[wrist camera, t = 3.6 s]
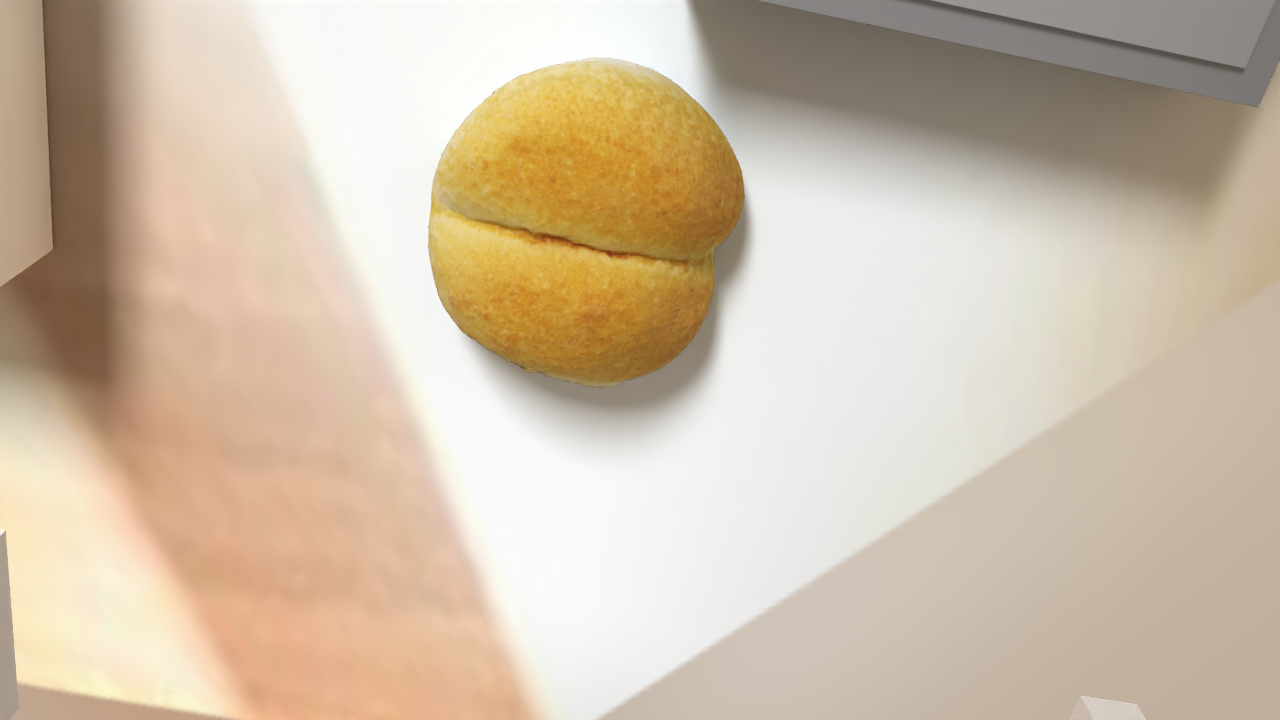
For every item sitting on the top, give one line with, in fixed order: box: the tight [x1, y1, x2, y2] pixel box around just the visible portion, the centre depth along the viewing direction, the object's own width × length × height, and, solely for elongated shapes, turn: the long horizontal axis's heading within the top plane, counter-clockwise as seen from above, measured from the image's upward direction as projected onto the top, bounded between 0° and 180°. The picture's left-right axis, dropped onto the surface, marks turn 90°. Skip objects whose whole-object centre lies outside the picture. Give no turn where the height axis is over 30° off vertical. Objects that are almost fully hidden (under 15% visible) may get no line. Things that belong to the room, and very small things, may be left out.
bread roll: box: [428, 58, 745, 388], centre depth 28 cm, size 8×9×4 cm
